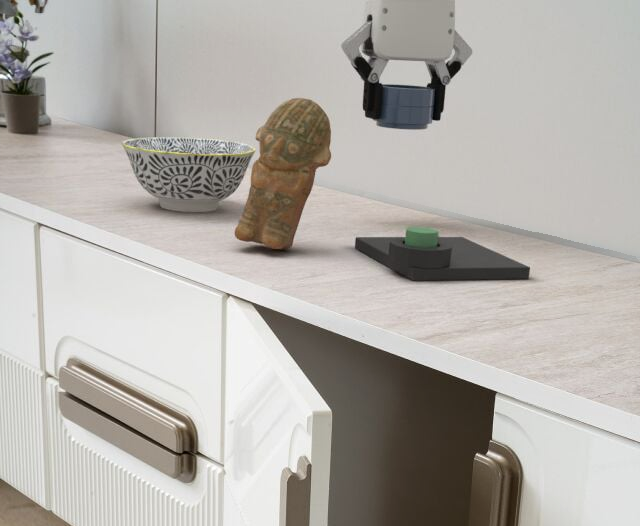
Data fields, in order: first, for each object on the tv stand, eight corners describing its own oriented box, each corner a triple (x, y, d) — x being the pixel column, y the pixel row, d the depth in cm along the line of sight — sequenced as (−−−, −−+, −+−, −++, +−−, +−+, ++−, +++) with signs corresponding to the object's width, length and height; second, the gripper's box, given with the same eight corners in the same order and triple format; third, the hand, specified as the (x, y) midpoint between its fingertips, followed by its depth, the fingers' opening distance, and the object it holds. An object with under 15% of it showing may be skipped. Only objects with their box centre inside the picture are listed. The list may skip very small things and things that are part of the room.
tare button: (428, 243, 113) (430, 226, 113) (442, 250, 110) (444, 232, 110) (399, 244, 112) (401, 226, 111) (412, 250, 109) (414, 232, 109)
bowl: (98, 208, 133) (97, 142, 130) (156, 191, 147) (157, 131, 144) (223, 225, 128) (226, 157, 126) (271, 206, 142) (274, 145, 140)
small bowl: (416, 123, 138) (419, 85, 136) (441, 130, 132) (445, 90, 130) (363, 122, 135) (365, 83, 133) (386, 129, 129) (389, 88, 127)
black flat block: (461, 247, 126) (464, 220, 125) (529, 279, 114) (533, 249, 112) (345, 248, 121) (347, 220, 120) (402, 281, 109) (405, 250, 107)
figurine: (230, 251, 116) (236, 97, 110) (257, 238, 123) (264, 93, 117) (308, 261, 114) (318, 106, 108) (331, 247, 121) (341, 101, 115)
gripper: (468, -41, 132) (453, 117, 139) (331, -52, 126) (322, 114, 133) (499, -42, 126) (482, 123, 133) (356, -53, 120) (346, 120, 127)
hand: (402, 117), depth 133 cm, fingers closed on small bowl, 7 cm apart
